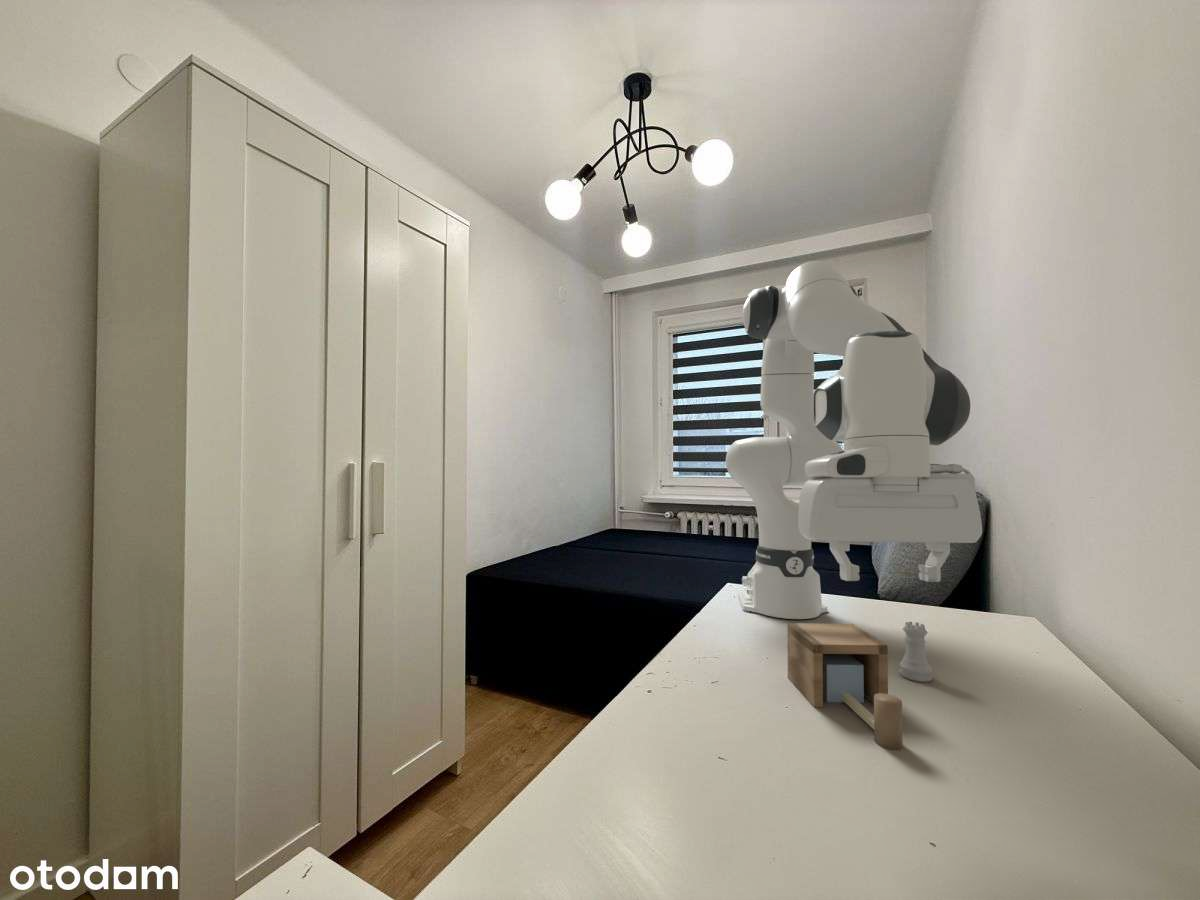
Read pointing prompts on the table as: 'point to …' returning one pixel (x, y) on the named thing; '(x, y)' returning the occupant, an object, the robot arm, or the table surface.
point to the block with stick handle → (862, 698)
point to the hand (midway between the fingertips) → (889, 580)
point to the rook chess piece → (915, 654)
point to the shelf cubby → (833, 639)
